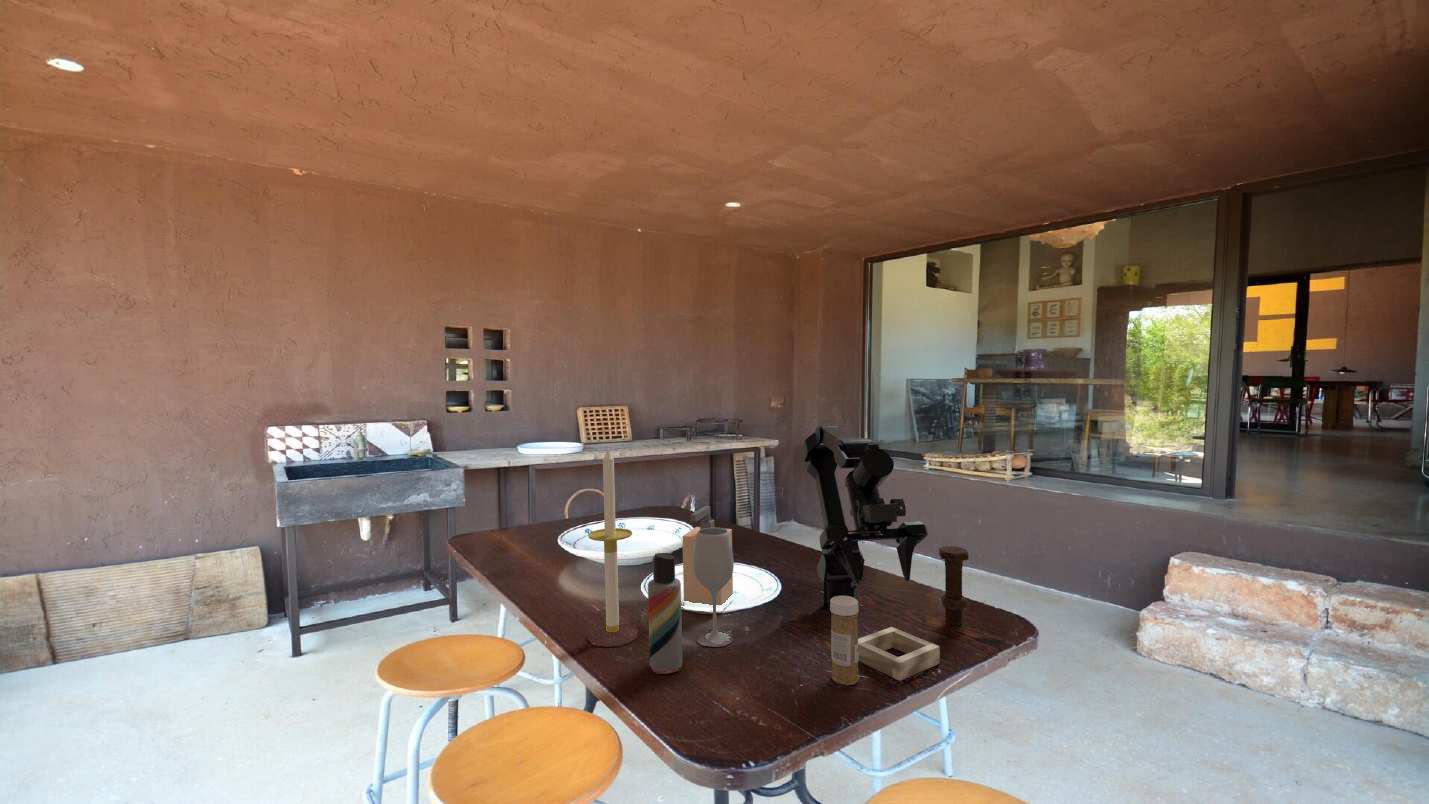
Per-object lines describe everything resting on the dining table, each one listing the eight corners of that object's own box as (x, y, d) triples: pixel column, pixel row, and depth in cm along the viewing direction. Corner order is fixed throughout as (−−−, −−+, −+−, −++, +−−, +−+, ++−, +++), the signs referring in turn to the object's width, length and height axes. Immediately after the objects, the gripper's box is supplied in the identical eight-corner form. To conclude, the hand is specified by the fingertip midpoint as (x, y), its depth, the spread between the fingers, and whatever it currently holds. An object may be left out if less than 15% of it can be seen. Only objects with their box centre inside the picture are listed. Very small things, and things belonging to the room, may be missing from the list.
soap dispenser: (697, 596, 143) (695, 501, 143) (733, 600, 141) (731, 503, 140) (676, 617, 131) (673, 513, 131) (714, 621, 129) (712, 515, 128)
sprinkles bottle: (864, 680, 103) (864, 600, 102) (845, 689, 100) (844, 606, 100) (844, 670, 107) (843, 592, 106) (825, 678, 104) (824, 598, 103)
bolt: (970, 630, 122) (969, 554, 121) (942, 628, 123) (942, 553, 122) (964, 618, 128) (964, 546, 127) (938, 617, 129) (938, 545, 128)
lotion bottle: (650, 661, 111) (647, 550, 110) (682, 659, 112) (679, 548, 111) (649, 676, 106) (646, 559, 105) (683, 674, 106) (680, 558, 105)
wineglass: (739, 634, 122) (737, 527, 121) (727, 650, 115) (725, 537, 114) (703, 629, 125) (701, 525, 124) (689, 645, 117) (687, 535, 117)
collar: (899, 680, 102) (899, 663, 102) (852, 657, 111) (852, 641, 111) (939, 663, 108) (939, 646, 108) (891, 642, 117) (891, 626, 117)
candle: (576, 637, 122) (571, 446, 120) (617, 622, 129) (612, 441, 128) (608, 652, 115) (602, 450, 114) (649, 635, 122) (644, 445, 121)
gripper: (826, 483, 110) (842, 571, 102) (928, 480, 112) (951, 566, 104) (813, 507, 120) (826, 589, 112) (906, 503, 122) (927, 584, 114)
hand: (882, 582), depth 110 cm, fingers open, 9 cm apart
